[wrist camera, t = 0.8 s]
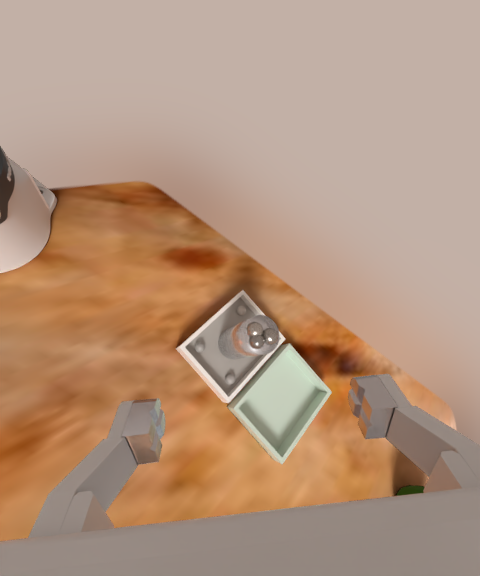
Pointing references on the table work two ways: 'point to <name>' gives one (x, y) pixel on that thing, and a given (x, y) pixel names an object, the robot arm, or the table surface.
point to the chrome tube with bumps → (249, 338)
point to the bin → (280, 402)
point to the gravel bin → (209, 360)
